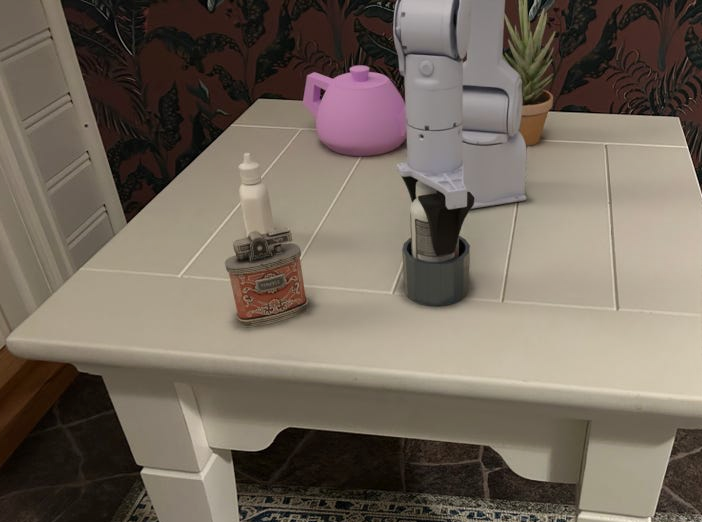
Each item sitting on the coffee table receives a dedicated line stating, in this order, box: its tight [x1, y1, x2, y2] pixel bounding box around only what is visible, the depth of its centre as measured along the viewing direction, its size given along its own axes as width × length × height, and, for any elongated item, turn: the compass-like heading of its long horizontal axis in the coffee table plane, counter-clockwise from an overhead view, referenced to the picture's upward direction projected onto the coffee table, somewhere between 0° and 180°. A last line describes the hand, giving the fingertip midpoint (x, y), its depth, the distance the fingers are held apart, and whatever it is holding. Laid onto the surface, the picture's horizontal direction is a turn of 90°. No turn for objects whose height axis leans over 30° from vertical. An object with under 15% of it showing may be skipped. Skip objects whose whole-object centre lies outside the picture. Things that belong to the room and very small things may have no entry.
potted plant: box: [502, 0, 556, 147], centre depth 116 cm, size 10×10×25 cm
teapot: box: [302, 64, 407, 157], centre depth 119 cm, size 22×16×12 cm
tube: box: [401, 235, 471, 307], centre depth 85 cm, size 8×8×6 cm
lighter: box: [224, 227, 310, 328], centre depth 79 cm, size 8×3×10 cm, turn 117°
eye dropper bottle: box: [238, 152, 275, 238], centre depth 92 cm, size 4×6×12 cm
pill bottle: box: [409, 181, 459, 263], centre depth 81 cm, size 5×5×10 cm
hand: (436, 240), depth 82 cm, fingers closed on pill bottle, 5 cm apart
